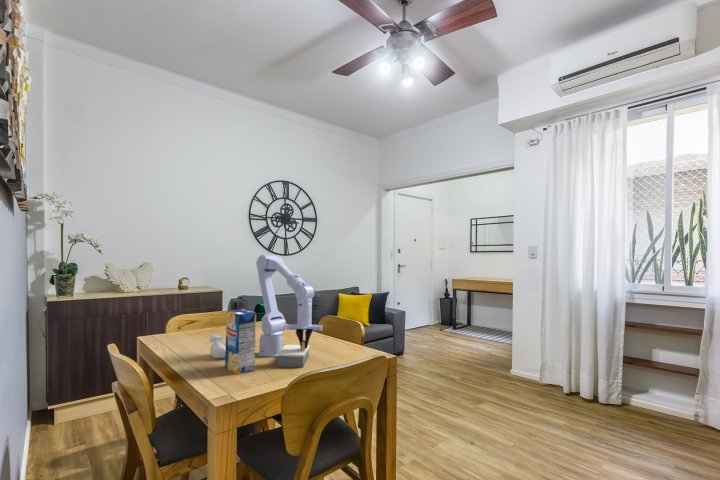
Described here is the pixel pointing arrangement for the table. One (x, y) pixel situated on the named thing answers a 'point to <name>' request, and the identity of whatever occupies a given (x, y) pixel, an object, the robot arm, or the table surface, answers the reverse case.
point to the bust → (217, 346)
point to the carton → (292, 361)
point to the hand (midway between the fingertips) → (304, 347)
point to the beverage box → (240, 341)
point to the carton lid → (294, 350)
